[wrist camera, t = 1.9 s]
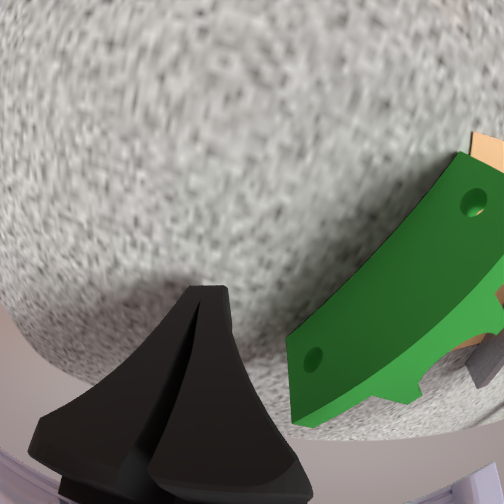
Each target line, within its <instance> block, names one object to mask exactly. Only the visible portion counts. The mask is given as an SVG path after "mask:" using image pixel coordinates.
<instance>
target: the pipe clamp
mask: <svg viewBox="0 0 504 504" xmlns="http://www.w3.org/2000/svg"><path fill="white" fill-rule="evenodd" d="M482 209H483V211H482V212H481V213H479V214H478V215H477V213H478V212H479V211H481V210H482ZM503 284H504V173H503V172H501V171H499V170H497V169H495V168H493V167H492V166H490V165H488V164H486V163H484V162H482V161H480V160H478V159H476V158H474V157H472V156H470V155H467V154H465V153H463V152H461V151H459V153H458V154H457V155H456V157H455V158H454V159H453V161H452V162H451V163H450V165H449V166H448V167H447V169H446V170H445V171H444V173H443V174H442V175H441V176H440V178H439V179H438V180H437V182H436V183H435V184H434V185H433V187H432V188H431V189H430V190H429V192H428V193H427V194H426V195H425V196H424V198H423V199H422V200H421V201H420V202H419V204H418V205H417V206H416V207H415V208H414V210H413V211H412V212H411V213H410V214H409V215H408V217H407V218H406V219H405V220H404V221H403V222H402V223H401V225H400V226H399V227H398V228H397V229H396V230H395V231H394V232H393V234H392V235H391V236H390V237H389V238H388V239H387V240H386V241H385V242H384V243H383V245H382V246H381V247H380V248H379V249H378V250H377V251H376V252H375V253H374V254H373V255H372V256H371V257H370V258H369V259H368V260H367V262H366V263H365V264H364V265H363V266H362V267H361V268H360V269H359V270H358V271H357V272H356V273H355V274H354V275H353V276H352V277H351V278H350V279H349V280H348V281H347V282H346V283H345V284H344V285H343V286H342V287H341V288H340V289H339V290H338V291H337V292H336V293H335V294H334V295H333V296H332V297H331V298H329V299H328V300H327V301H326V302H325V303H324V304H323V305H322V306H321V307H320V308H319V309H318V310H317V311H316V312H315V313H314V314H312V315H311V316H310V317H309V318H308V319H307V320H306V321H305V322H304V323H303V324H301V325H300V326H299V327H298V328H297V329H296V330H295V331H294V332H293V333H291V334H290V335H289V336H288V337H287V338H286V347H287V360H288V374H289V389H290V404H291V421H292V424H296V425H300V426H305V427H310V428H314V427H316V426H318V425H320V424H322V423H324V422H326V421H328V420H330V419H332V418H334V417H336V416H337V415H339V414H341V413H343V412H345V411H346V410H348V409H350V408H352V407H353V406H355V405H357V404H359V403H360V402H362V401H364V400H365V399H367V398H368V397H370V396H376V397H380V398H383V399H387V400H391V401H395V402H399V403H403V404H407V405H408V404H410V403H411V402H413V401H414V400H416V399H417V398H419V397H420V396H422V393H421V390H420V387H419V385H418V383H419V381H420V379H421V378H422V376H423V375H424V374H425V373H426V372H427V370H428V369H429V368H430V367H431V366H432V365H433V364H434V363H436V362H437V361H438V360H439V359H440V358H441V357H443V356H444V355H445V354H446V353H448V352H449V351H451V350H452V349H453V348H455V347H456V346H458V345H460V344H461V343H463V342H465V341H466V340H468V339H470V338H472V337H475V336H477V335H480V334H483V333H494V334H495V335H497V334H498V333H499V332H500V331H501V330H502V329H503V328H504V309H503V308H502V306H501V304H500V302H499V301H498V299H497V297H496V296H495V293H496V291H497V290H498V289H499V288H500V287H501V286H502V285H503Z"/></svg>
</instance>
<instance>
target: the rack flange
mask: <svg viewBox="0 0 504 504" xmlns="http://www.w3.org/2000/svg"><path fill="white" fill-rule="evenodd" d="M470 156H472V157H474V158H476V159H478V160H480V161H482V162H484V163H486V164H488V165H490V166H492V167H493V168H495V169H497V170H499V171H501V172H503V173H504V141H502V140H499V139H496V138H493V137H490V136H487V135H483V134H480V133H477V132H473V136H472V145H471V153H470ZM482 211H483V209H482V210H481V211H479V212H478V213H477V215H478V214H479V213H481V212H482ZM495 296H496V297H497V299H498V301H499V302H500V304H501V306H502V308H503V309H504V284H503V285H502V286H501V287H500V288H499V289H498V290H497V291H496V293H495ZM478 343H479V345H478V346H477V348H476V349H475V351H474V352H473V354H472V355H471V357H470V358H469V360H468V361H467V363H466V364H465V365H466V367H467V369H468V371H469V373H470V375H471V377H472V379H473V381H474V383H475V386H476V388H477V389H479V388H482V387H484V386H486V385H488V384H489V383H490V381H491V380H492V379H493V378H494V377H495V375H496V374H497V373H498V372H499V370H500V369H501V368H502V367H503V365H504V328H503V329H502V330H501V331H500V332H499V333H498V334H497V335H495V334H494V333H483V334H480V335H477V336H475V337H472V338H470V339H468V340H466V341H465V342H463V343H461V344H460V345H458V346H456V347H455V348H453V349H452V350H451V351H453V350H457V349H460V348H464V347H468V346H471V345H475V344H478Z"/></svg>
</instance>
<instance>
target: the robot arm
mask: <svg viewBox="0 0 504 504" xmlns="http://www.w3.org/2000/svg"><path fill="white" fill-rule="evenodd" d="M28 454H29V455H30V456H31V457H32V458H33V459H35V460H36V461H38V462H40V463H41V464H43V465H45V466H47V467H48V468H50V469H51V470H53V471H55V472H57V473H58V474H60V475H62V478H61V482H58V481H56V480H54V479H52V478H50V477H48V476H46V475H44V474H42V473H40V472H39V471H37V470H35V469H33V468H32V467H30V466H28V465H26V464H25V463H23V462H21V461H20V460H18V459H17V458H15V457H13V456H12V455H10V454H9V453H8V452H6V451H5V450H3V449H1V448H0V504H69V503H70V504H307V502H308V501H310V499H312V498H313V491H312V486H311V484H310V481H309V479H308V477H307V475H306V473H305V471H304V469H303V467H302V465H301V463H300V461H299V459H298V457H297V455H296V454H295V452H294V451H293V450H292V448H291V447H290V446H289V444H288V443H287V441H286V440H285V439H284V437H283V436H282V434H281V433H280V431H279V430H278V428H277V427H276V425H275V424H274V422H273V421H272V419H271V418H270V416H269V414H268V413H267V411H266V409H265V407H264V405H263V404H262V402H261V400H260V398H259V397H258V395H257V393H256V391H255V389H254V387H253V385H252V383H251V381H250V379H249V377H248V374H247V372H246V370H245V367H244V365H243V363H242V360H241V358H240V355H239V352H238V349H237V346H236V343H235V340H234V337H233V334H232V319H231V311H230V303H229V295H228V288H227V287H226V286H224V285H215V286H189V287H188V288H187V289H186V290H185V292H184V293H183V294H182V296H181V297H180V298H179V300H178V301H177V302H176V304H175V305H174V306H173V307H172V309H171V310H170V311H169V313H168V314H167V315H166V316H165V317H164V319H163V320H162V321H161V322H160V324H159V325H158V326H157V327H156V328H155V330H154V331H153V332H152V333H151V334H150V335H149V336H148V337H147V338H146V340H145V341H144V342H143V343H142V344H141V345H140V346H139V347H138V348H137V349H136V350H135V351H134V352H133V353H132V354H131V355H130V356H129V357H128V358H127V359H126V360H125V361H124V362H123V363H122V364H121V365H120V366H118V367H117V368H116V369H115V370H114V371H113V372H111V373H110V374H109V375H108V376H106V377H105V378H104V379H103V380H101V381H100V382H99V383H98V384H96V385H95V386H94V387H92V388H91V389H89V390H88V391H86V392H85V393H83V394H82V395H80V396H79V397H77V398H76V399H74V400H73V401H71V402H69V403H68V404H66V405H64V406H62V407H60V408H58V409H57V410H55V411H53V412H51V413H49V414H47V415H45V416H43V417H41V418H40V419H39V421H38V424H37V427H36V429H35V432H34V434H33V437H32V440H31V443H30V445H29V448H28ZM403 504H504V498H503V493H502V489H501V484H500V480H499V476H498V472H497V468H496V465H495V462H494V461H493V462H490V463H489V464H487V465H485V466H484V467H482V468H480V469H478V470H477V471H475V472H473V473H471V474H469V475H467V476H465V477H463V478H461V479H459V480H458V481H456V482H454V483H452V484H451V485H448V486H446V487H444V488H442V489H439V490H437V491H435V492H432V493H430V494H428V495H425V496H423V497H421V498H418V499H415V500H412V501H410V502H406V503H403Z"/></svg>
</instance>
